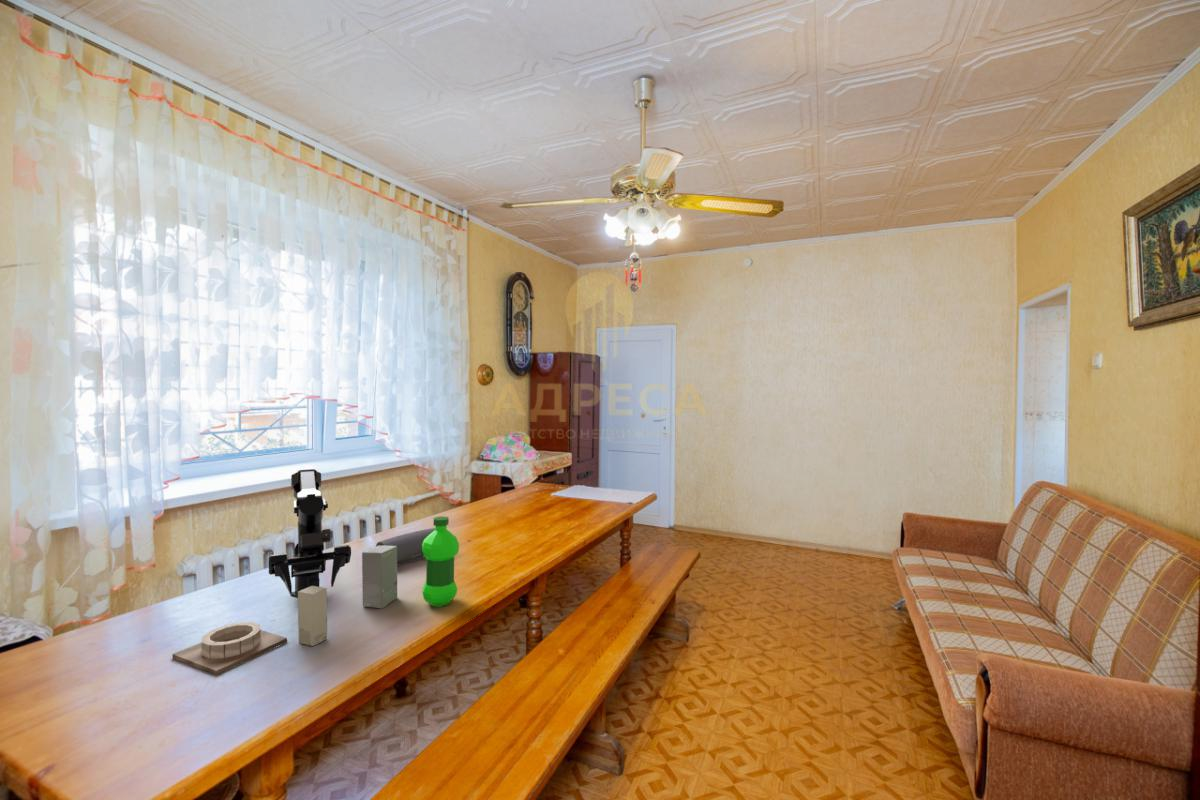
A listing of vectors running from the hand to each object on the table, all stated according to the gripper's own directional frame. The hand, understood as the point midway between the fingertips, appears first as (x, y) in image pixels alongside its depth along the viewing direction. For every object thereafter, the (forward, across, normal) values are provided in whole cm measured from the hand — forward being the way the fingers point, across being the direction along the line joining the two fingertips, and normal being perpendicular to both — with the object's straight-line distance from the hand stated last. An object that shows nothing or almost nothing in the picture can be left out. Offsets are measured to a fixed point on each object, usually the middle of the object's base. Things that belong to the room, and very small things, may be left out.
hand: (311, 589), depth 129 cm
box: (+11, 0, +5) cm, 12 cm away
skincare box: (0, +18, +16) cm, 24 cm away
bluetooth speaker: (-23, +33, +39) cm, 56 cm away
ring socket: (+8, -16, +8) cm, 20 cm away
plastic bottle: (+6, +33, +10) cm, 35 cm away
